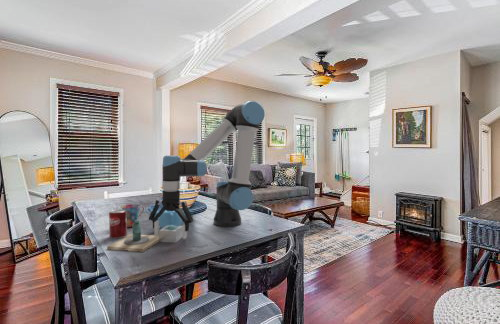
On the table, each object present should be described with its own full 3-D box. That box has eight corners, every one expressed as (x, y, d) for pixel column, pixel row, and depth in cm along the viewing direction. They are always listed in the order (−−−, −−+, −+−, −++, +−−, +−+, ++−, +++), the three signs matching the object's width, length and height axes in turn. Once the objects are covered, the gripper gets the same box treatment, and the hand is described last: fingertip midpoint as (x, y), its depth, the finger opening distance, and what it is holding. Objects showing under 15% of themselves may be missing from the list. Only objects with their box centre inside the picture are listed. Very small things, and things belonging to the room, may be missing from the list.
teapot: (152, 231, 135) (151, 209, 134) (172, 222, 147) (171, 202, 146) (171, 235, 129) (170, 212, 128) (190, 226, 141) (190, 205, 140)
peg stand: (163, 238, 122) (162, 216, 122) (143, 251, 106) (142, 226, 106) (131, 236, 125) (130, 215, 124) (107, 249, 109) (106, 224, 109)
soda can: (115, 240, 120) (114, 213, 119) (106, 237, 124) (105, 211, 123) (130, 235, 126) (129, 210, 126) (121, 233, 130) (120, 208, 129)
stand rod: (174, 238, 122) (174, 225, 122) (172, 239, 120) (172, 226, 120) (170, 238, 123) (170, 225, 122) (168, 239, 121) (168, 226, 120)
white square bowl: (183, 236, 125) (183, 226, 124) (175, 242, 117) (175, 231, 116) (167, 235, 126) (167, 225, 126) (158, 241, 118) (158, 230, 118)
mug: (128, 229, 136) (128, 208, 135) (118, 226, 141) (117, 206, 140) (149, 223, 146) (148, 204, 145) (138, 221, 151) (138, 202, 150)
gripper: (200, 190, 122) (199, 236, 123) (149, 187, 126) (149, 231, 127) (194, 192, 114) (193, 241, 115) (140, 189, 119) (140, 236, 120)
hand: (170, 236), depth 121 cm, fingers open, 13 cm apart
